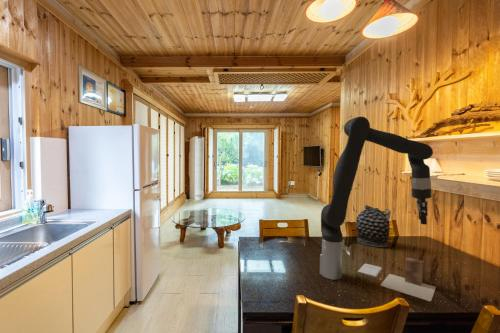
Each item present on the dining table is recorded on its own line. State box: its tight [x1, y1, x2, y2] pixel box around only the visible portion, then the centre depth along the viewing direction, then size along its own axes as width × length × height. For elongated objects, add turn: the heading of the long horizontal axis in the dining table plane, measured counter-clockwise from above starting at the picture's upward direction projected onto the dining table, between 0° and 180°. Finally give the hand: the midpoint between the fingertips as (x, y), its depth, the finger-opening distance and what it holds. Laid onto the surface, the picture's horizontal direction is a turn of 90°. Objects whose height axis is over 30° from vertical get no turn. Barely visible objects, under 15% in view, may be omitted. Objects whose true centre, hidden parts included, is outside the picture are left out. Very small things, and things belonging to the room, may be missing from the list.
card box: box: [404, 257, 424, 286], centre depth 112 cm, size 6×4×10 cm, turn 48°
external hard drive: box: [357, 263, 383, 278], centre depth 124 cm, size 2×8×12 cm
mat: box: [379, 273, 437, 302], centre depth 109 cm, size 18×15×1 cm
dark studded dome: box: [354, 204, 392, 248], centre depth 164 cm, size 21×15×25 cm
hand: (422, 221), depth 118 cm, fingers open, 8 cm apart
